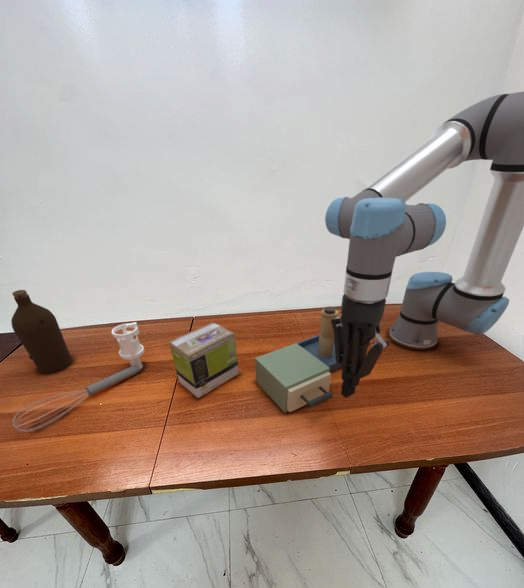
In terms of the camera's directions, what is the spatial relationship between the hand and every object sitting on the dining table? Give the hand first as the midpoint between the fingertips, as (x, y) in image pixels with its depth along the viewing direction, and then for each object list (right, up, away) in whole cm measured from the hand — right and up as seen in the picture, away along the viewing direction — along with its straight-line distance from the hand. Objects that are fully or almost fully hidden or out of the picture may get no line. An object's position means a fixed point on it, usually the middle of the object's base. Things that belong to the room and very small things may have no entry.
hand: (347, 393), depth 66 cm
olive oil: (-86, +5, +29) cm, 91 cm away
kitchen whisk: (-67, -4, +16) cm, 69 cm away
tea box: (-35, +1, +21) cm, 41 cm away
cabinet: (-11, -1, +17) cm, 21 cm away
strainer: (-59, +4, +27) cm, 65 cm away
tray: (+1, +8, +31) cm, 32 cm away
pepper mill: (+1, +9, +30) cm, 31 cm away
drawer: (-9, -2, +14) cm, 17 cm away
